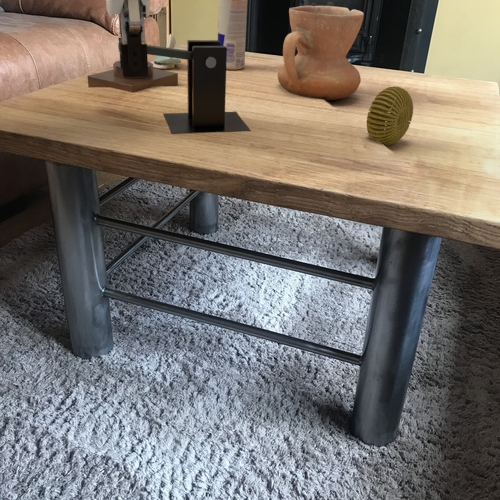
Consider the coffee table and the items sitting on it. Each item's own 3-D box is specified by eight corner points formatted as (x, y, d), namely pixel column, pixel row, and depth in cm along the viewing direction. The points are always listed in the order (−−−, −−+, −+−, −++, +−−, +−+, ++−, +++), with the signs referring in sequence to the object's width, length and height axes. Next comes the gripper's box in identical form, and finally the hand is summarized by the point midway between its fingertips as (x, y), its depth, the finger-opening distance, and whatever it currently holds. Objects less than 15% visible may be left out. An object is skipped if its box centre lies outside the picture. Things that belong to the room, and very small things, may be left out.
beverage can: (248, 66, 117) (252, -13, 109) (238, 72, 112) (242, -10, 105) (223, 63, 119) (225, -15, 111) (212, 68, 114) (214, -13, 106)
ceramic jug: (318, 80, 110) (326, 1, 102) (378, 97, 101) (392, 12, 93) (250, 93, 99) (254, 6, 92) (311, 114, 90) (321, 19, 83)
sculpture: (388, 135, 83) (398, 79, 78) (412, 142, 80) (423, 85, 76) (356, 146, 77) (365, 88, 73) (381, 154, 75) (392, 95, 71)
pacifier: (152, 72, 109) (183, 70, 111) (150, 38, 106) (181, 37, 108) (147, 63, 115) (176, 62, 117) (145, 31, 112) (175, 30, 114)
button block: (133, 99, 92) (131, 74, 90) (88, 88, 96) (86, 64, 94) (178, 85, 101) (177, 62, 99) (135, 76, 105) (134, 54, 103)
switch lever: (118, 61, 71) (119, 34, 70) (116, 55, 74) (118, 30, 72) (217, 73, 75) (221, 49, 74) (212, 68, 78) (215, 44, 76)
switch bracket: (171, 142, 75) (169, 50, 69) (163, 121, 83) (160, 37, 77) (250, 138, 78) (255, 50, 72) (235, 119, 85) (238, 37, 79)
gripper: (89, -92, 70) (102, 59, 80) (92, -93, 57) (107, 89, 66) (149, -89, 72) (155, 59, 82) (166, -89, 59) (171, 88, 68)
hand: (134, 71), depth 74 cm, fingers closed on switch lever, 3 cm apart
